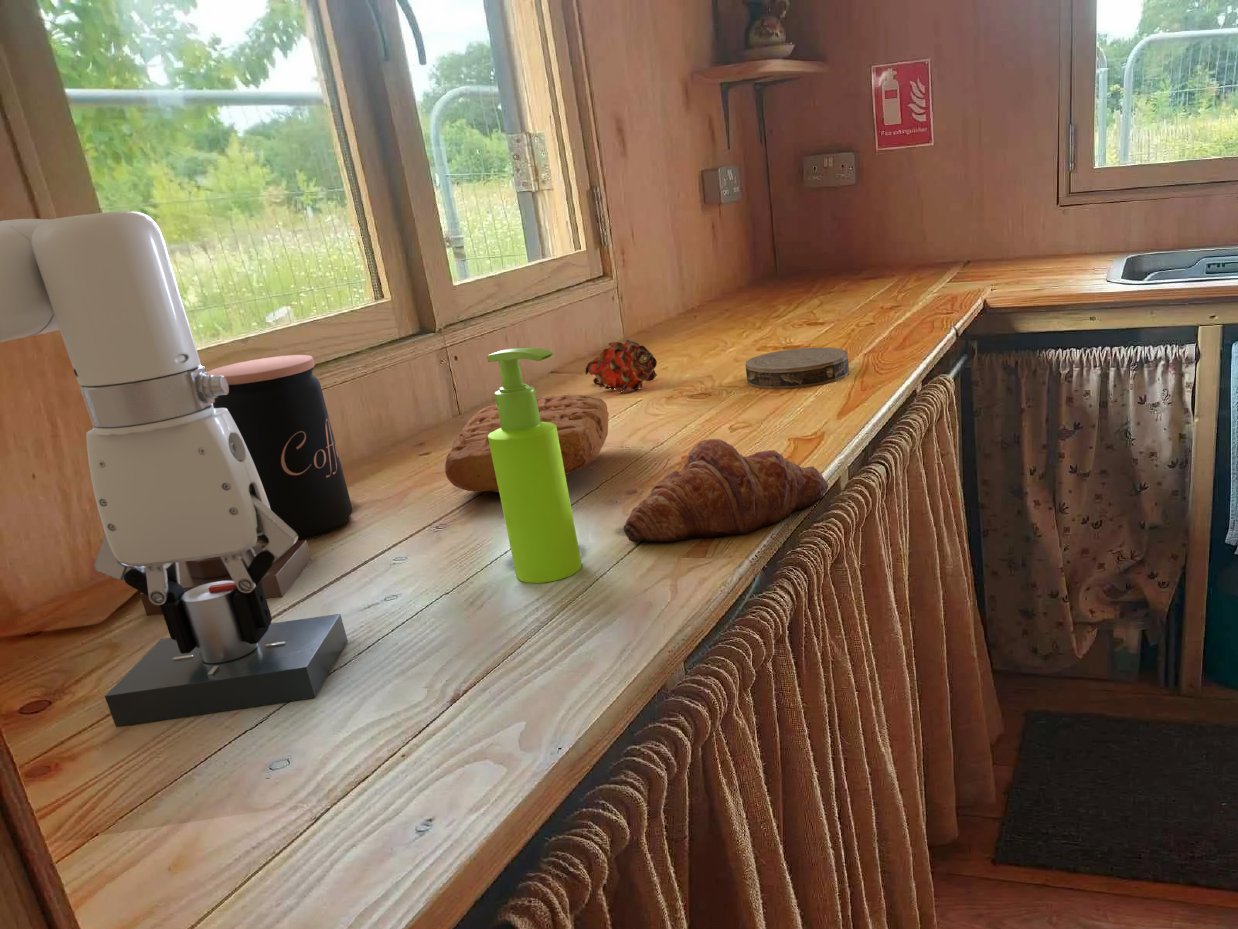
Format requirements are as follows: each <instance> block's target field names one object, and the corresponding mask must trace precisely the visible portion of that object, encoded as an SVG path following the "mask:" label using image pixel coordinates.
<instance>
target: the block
mask: <svg viewBox="0 0 1238 929" xmlns="http://www.w3.org/2000/svg"><path fill="white" fill-rule="evenodd" d="M265 546H266V545H262V544H261V540H259V538H257V543H256V545H255V546H253V549H254V551H255V553H256V555H257V554H258V553H259V552H260V551H261V550H262V549H263V548H264V547H265ZM311 562H312V556H311V552H310V549H309V545H308V541H307V539H305V540H301V541H296V542H295V543H294V544H293V546H292V547H291V548H290V549H288V550H287V551H286V552H285V553H284V554H283V555H282V556H281V557H280V558H279V559H277V560H276V561H275V562H274V564H273V565H272V567H271V568H270V569H269V571H268V572H267V574H266V575H265V577H264V578H263V579H262V581H261V583H262V586H263V590H264V593H265V596H266V600H272V599H278V598H283V597H284V596H285V594H286V593H287V592H288V591H289V590H290V588H291V587H292V586H293V584H294V583H295V582H296V581H297V580H298V578H299V577H300V576H301V575H302V573H303V572H304V571H305V569H306V568H307V567H308V566H309V565H310V563H311ZM179 571H180V581H181V586H182V587H183V589H189V590H191V589H193V588H195V587H198V586H201V585H204V584H208V583H212V582H217V581H233V579H232V577H231V576H230V574H229V572H228V570H227V568H226V567H225V565H224V563H223V561H222V559H221V557H213V558H205V559H198V560H191V561H184V562H179ZM139 596H140V599H141V602H142V605H143V608H144V611H145V613H146V616H147V617H148V616H156V615H163V613H162V611H161V608H160V605H155V604H153V603H152V602H151V601H150V600H149V596H147V595H145V594H143V593H142V592H140V593H139Z"/></svg>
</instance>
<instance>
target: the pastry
mask: <svg viewBox="0 0 1238 929" xmlns="http://www.w3.org/2000/svg"><path fill="white" fill-rule="evenodd" d="M828 489H829V483H828V482H827V480H826V479H825V477H824V476H823V474H822V472H820V471H819V470H818V469H817V468H815V466H814V465H813V466H806V467H804V466H803V467H801V466H799V465H797V463H795V461H790V460H789V459H788V458H786V457H784V456H783V454H781V453H779V452H778V451H776V450H773V449H772V450H771V449H770V450H763V451H757V452H755V453H753V454H750V455H746V456H743V455H742V454H741V453H739V451H738V450H737V449H736V448H735V447H734V446H733V445H732V444H730V443H728V442H727V441H726V440H723V439H719V438H710V439H704V440H701V441H699V442H698V443H697V444H695V445H694V446H693V447H692V449H691V450H690V451H689V452H688V457H687V459H686V460H685V461H684V465H683V466H682V468H681V469H680V470H675V471H672V470H671V471H669V472H667V473H666V475H665V476H663V478H661V479H660V480H659V481H658V482H657V483H656V485H655V486H653V487H652V488H651V491H650V493H649V494H648V496H647V497H646V498H645V499H643V500H641V501H640V502H639V503H638V504H637V505H635V506H634V507H633V508H632V510H631V512H630V514H629V516H628V517H627V519H626V521H625V524H624V526H623V532H624V534H625V536H626V537H627V539H628V541H630V542H632V543H636V544H637V543H640V542H643V541H644V542H673V541H680V540H684V541H687V540H689V539H695V538H696V539H697V538H717V537H723V536H729V535H739V534H740V535H747V534H748V533H751V532H754V531H756V530H757V529H760V528H763V527H767V526H769V525H773V524H776V523H778V522H779V521H781V520H783V519H784V518H787V517H789V515H791V514H792V513H794V512H796V511H800V510H805V509H807V508H809V507H811V506H812V505H815V504H816V503H817V502H819V501H820V500H821V499H822V498H823V496H824V494H825V493H827V492H828Z"/></svg>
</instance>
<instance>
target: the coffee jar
mask: <svg viewBox="0 0 1238 929" xmlns="http://www.w3.org/2000/svg"><path fill="white" fill-rule="evenodd" d="M315 366H316V364H315V360H314V357H313V356H312V355H307V354H291V355H290V354H289V355H278V356H271V357H263V358H257V359H252V360H251V359H250V360H245V361H241V362H236V363H230V364H227V365H223V366H220V367H216V368H213V369H211V370H209V371H206V372H207V374H208V375H213V376H222V375H223V376H224V377H225V378H226V380H227V382H228V386H229V392H228V394H227V395H219V396H218V397H217V398H214V399H215V403H213V407H214V409H215V408H227V410H228V411H229V413H230V415H231V416H232V418H233V420H234V422H235V424H236V426H237V428H238V429H239V431H240V433H241V436H242V438H243V440H244V442H245V444H246V446H247V449H248V451H249V453H250V455H251V458H252V460H253V462H254V465H255V467H256V470H257V472H258V475H259V477H260V480H261V483H262V485H263V488H264V491H265V493H266V496H267V499H268V502H269V505H270V509H271V511H272V512H274V513H275V514H276V515H277V516H278V517H279V518H280V519H281V520H283V521H284V522H285V523H286V524H287V525H288V526H289V527H290V528H292V529H293V530H294V531H295V532H296V533H297V535H298V540H297V541H303V540H309V539H313V538H318V537H321V536H324V535H327V534H329V533H332V532H334V531H336V530H339V529H342V527H344V526H346V525H347V524H348V522H349V521H350V517H351V515H352V513H353V505H352V501H351V496H350V494H349V489H348V485H347V482H346V479H345V478H346V477H345V474H344V471H343V467H342V463H341V459H340V454H339V451H338V448H337V447H338V446H337V444H336V439H335V436H334V432H333V427H332V425H331V421H330V416H329V413H328V408H327V404H326V400H325V398H324V393H323V388H322V384H321V383H320V381H319V379H318V378H317V377H316V376H315V375H314V374H313V370H314V367H315ZM257 539H259V540H260V542H261V541H262V542H263V543H269V540H268V538H267V536H266V535H264V534H263V535H261V536H257Z"/></svg>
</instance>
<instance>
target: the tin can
mask: <svg viewBox="0 0 1238 929" xmlns="http://www.w3.org/2000/svg"><path fill="white" fill-rule="evenodd" d="M744 364H745V373H746V383H747V385H749V386H750V387H751V388H757V389H765V390H766V389H767V390H789V389H799V388H801V389H802V388H810V387H815V386H816V387H817V386H821V385H825V384H830V383H833V382H832V381H834V382H837V381H839V380H838V379H840V380H842V379H845V378H846V377H847V376H848V374H849V375H850V368H849V367H850V366H849V355H848V350H845V349H843V348H836V347H801V348H792V349H791V348H790V349H785V350H777V351H772V352H767V353H763V354H760V355H757V356H753V357H751V358H749V359H748V360H746V361H745V363H744ZM846 375H847V376H846ZM845 376H846V377H845ZM844 377H845V378H844ZM841 378H842V379H841Z"/></svg>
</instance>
